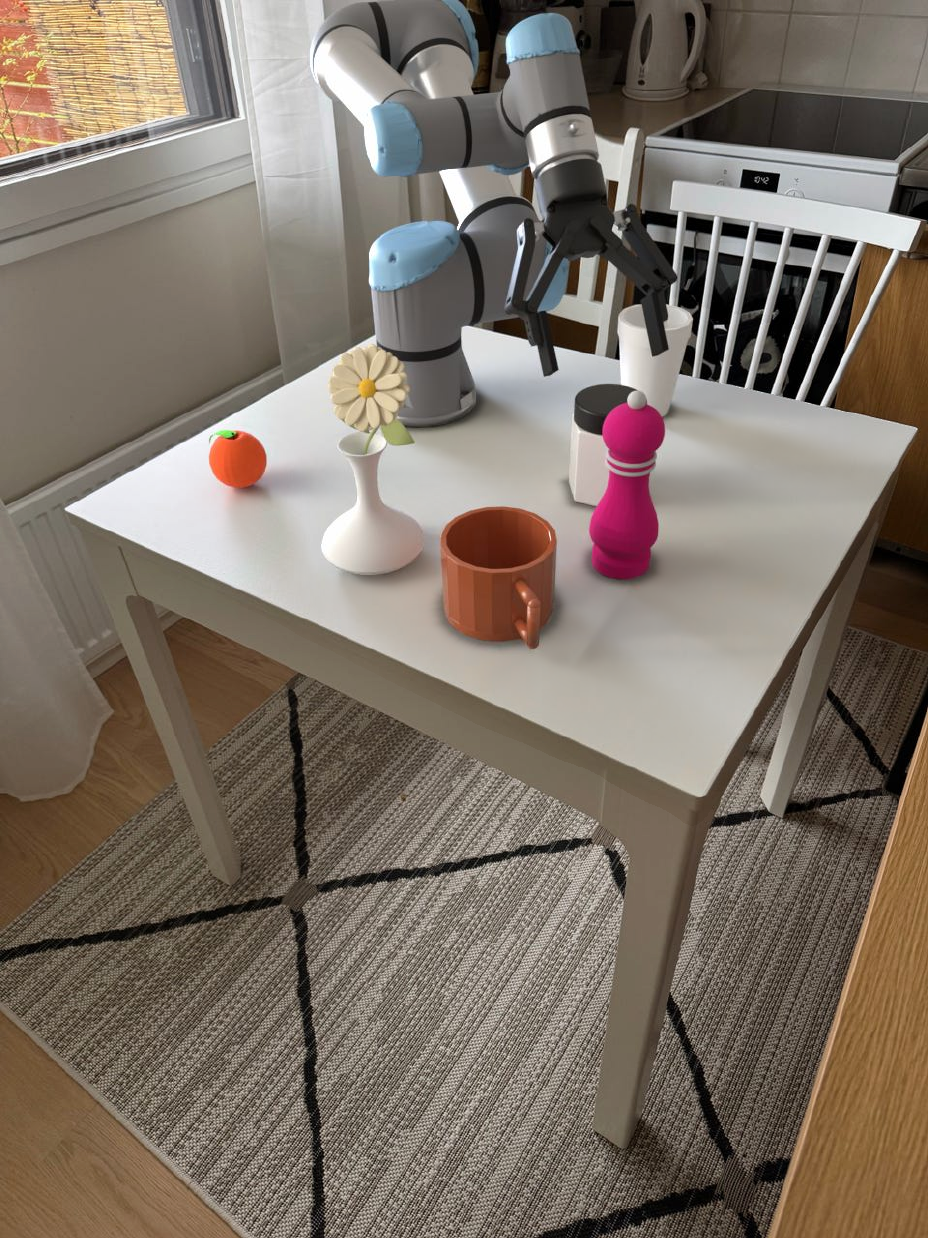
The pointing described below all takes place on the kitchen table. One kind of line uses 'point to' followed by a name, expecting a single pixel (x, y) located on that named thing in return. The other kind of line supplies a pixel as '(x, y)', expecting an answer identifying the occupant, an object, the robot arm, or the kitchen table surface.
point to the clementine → (237, 458)
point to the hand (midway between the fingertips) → (606, 363)
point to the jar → (592, 440)
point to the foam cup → (637, 360)
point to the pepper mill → (627, 491)
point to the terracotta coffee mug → (499, 574)
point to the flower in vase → (370, 465)
